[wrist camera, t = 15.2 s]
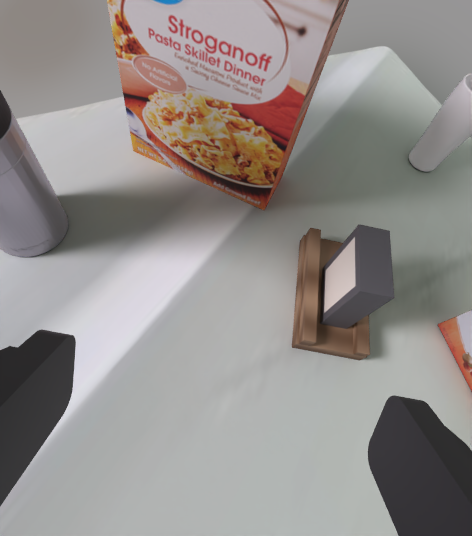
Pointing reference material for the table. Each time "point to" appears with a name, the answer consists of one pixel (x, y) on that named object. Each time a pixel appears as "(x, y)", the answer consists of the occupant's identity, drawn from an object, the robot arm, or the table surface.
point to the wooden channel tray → (309, 305)
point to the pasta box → (222, 83)
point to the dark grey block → (357, 278)
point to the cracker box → (460, 341)
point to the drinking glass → (445, 129)
